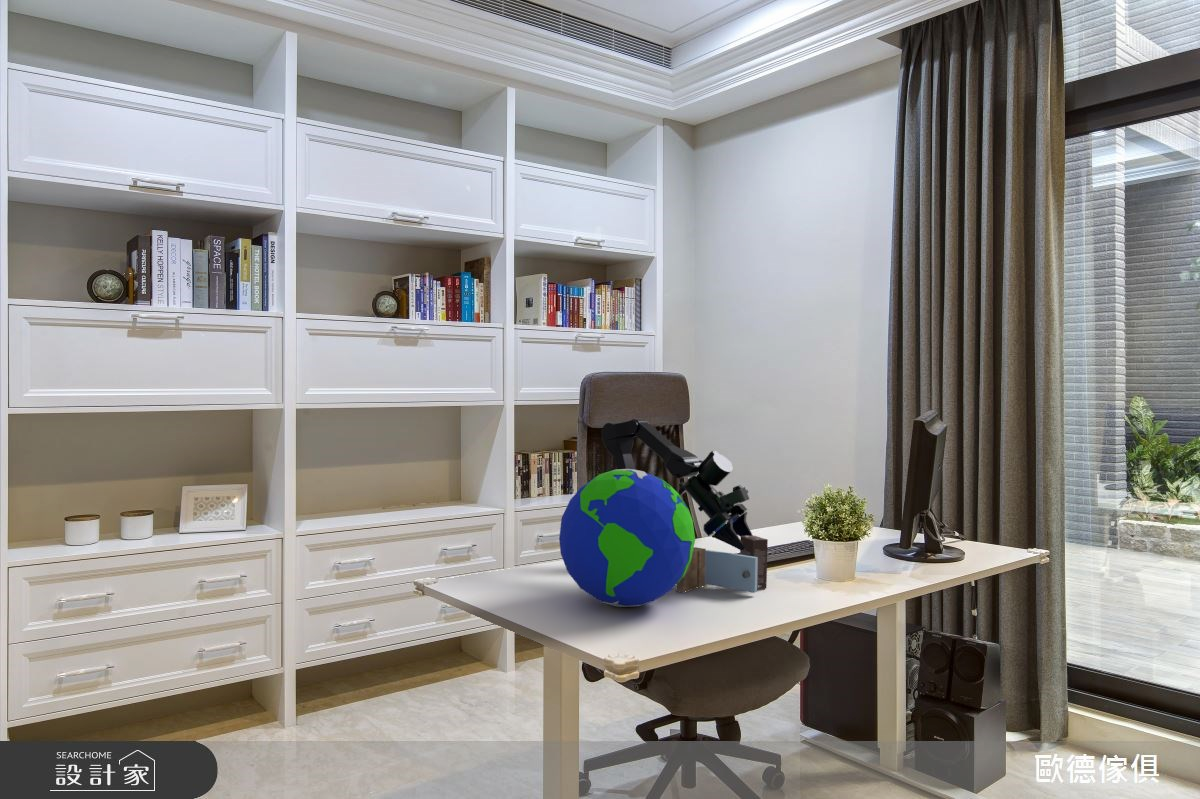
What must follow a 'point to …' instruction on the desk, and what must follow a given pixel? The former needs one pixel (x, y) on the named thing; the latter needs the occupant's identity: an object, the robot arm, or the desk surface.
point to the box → (757, 549)
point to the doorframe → (694, 572)
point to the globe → (626, 537)
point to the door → (731, 570)
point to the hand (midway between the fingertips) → (748, 545)
